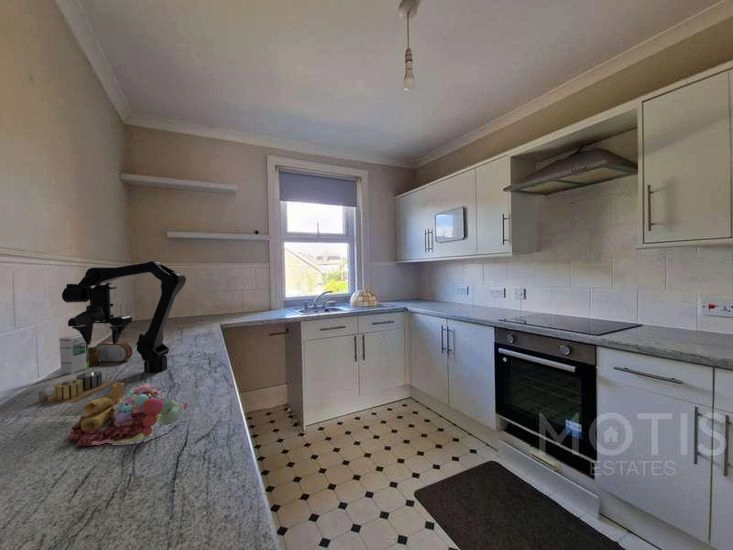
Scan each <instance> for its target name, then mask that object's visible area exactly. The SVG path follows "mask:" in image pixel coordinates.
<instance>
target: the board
mask: <svg viewBox="0 0 733 550" xmlns="http://www.w3.org/2000/svg"><path fill="white" fill-rule="evenodd" d="M70 380H71V381H69V380H66V382H64V381H63V382H64V384H65V385H69V384H73V381H72V380H73V379H70ZM115 383H118V381H102V385H101V386H100V387H97V388H94V389H90V390H83V395H81V396H79V397H76V398H73V399H69V400H62V401H58V400H57V401H56V400H55V398H54V394H52V395H50V396H48V390H47V389H44V390H40V391H38V400H37V401H35V402H33V404H34V405H36V404H60V403H61V404H63V403H64V404H65V403H66V404H67V403H79V402H80V401H82V400H84V399H87V398H88V397H90V396H92V395H95V394H96V393H99V392H100V391H103V390H104V389H107V388H109V387H112V385H113V384H115Z"/></svg>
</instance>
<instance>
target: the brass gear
mask: <svg viewBox="0 0 733 550" xmlns="http://www.w3.org/2000/svg"><path fill="white" fill-rule="evenodd" d="M71 380H72V381H73V384H69V385H65V384H64V382H66V381H67V380H66V381H65V380H64V381H61V382H59V383H55V385H53V389H54V390H53V395H54V398H55V400H56V401H57V400H58V401H62V400H69V399H73V398H76V397H79V396H81V395H83V380H80V379H69V380H68V381H71Z"/></svg>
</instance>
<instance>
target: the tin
mask: <svg viewBox="0 0 733 550" xmlns="http://www.w3.org/2000/svg"><path fill="white" fill-rule="evenodd" d="M96 347H97V352H98V354H99V361H101V362H104V363H106V362H107V363H123V362H125V361H128V360H129V359H131V358H132V356H133V348H132V346H131V345H130V344H129V343H128V342H125V341H117V343H116V344H113V341H111V340H110V341H109V340H108V341H107V340H106V341H104V342H101V343H99V344H98V345H97V346H96Z"/></svg>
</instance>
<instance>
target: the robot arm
mask: <svg viewBox="0 0 733 550" xmlns="http://www.w3.org/2000/svg"><path fill="white" fill-rule="evenodd" d="M149 273H151V274H152V275H153V276H154V277H155V278H156V279H157V280H159V281H160V282H161V283H160V291H161V295H160V296H159V297H160V298H159V301H158V303H157V306H156V308H155V311H154V313H153V316H152V319H151V321H150V324H149V327H148V329H147V331H145V332H142V333H140V334H139V335H138V340H137V342H136V343H135V346H136V351H137V352H138V354H139V355H140V356H141V357H140V358H141V359H142V361H144V362H143V372H144V373H148V374H157V373H163V372H165V371H166V370H168V356H167V355H169V351H170V348H169V347H168V346H167V345H166V344H165V343H164V334H163V333H164V328H165V326H166V323H167V320H168V317H169V315H170V312H171V310H172V307H173V304H174V301H175V298H176V297H177V295H178V294H179V293H180V291H181V290H182V289H183V287H184V285H185V284H186V282H187V277H186V276H185V275H184V273H183V272H180V271H176V270H174V269H172V268H170V267H168V266H167V265H164V264H162V263H161V262H159V261H147V262H143V263H137V264H129V265H124V266H118V267H90V268H88V269H87V270H86V272H85V275H84V276H83V277H82V279H81V280H80V281H79V282H78V283H66V286H65V288H64V289H63V291H62V293H61V298H62V301H64V302H65V303H68V304H69V303H87V302H89V305H86V308H85V310H84V311H82V312H81V313H79V314H77V315H76V316H74V317H70V318H69V320H68V321H67V326H68V327H71V328H72V329H74V330H77V332H79V334H81V335H82V337H83V338H84V340H85V342H86V344H87V345H88V346H90V345H91V344H92V343H91V342H92V339H93V338H92V337H93V331H94V330H93V329H94V328H93V327H94V324H110V325H111V326H109V329H110V330H111V333H112V334H111V337H112V341H111V342H113V344H116V343H117V342H119V341H118V340H119V339H120V337H121V335H122V333H123V331H124V330H125V329H126V326H129V324H132V323H133V317H132V316H131V315H118V316H114V313H113V314H112V313H111V308H112V307H114V303H111V290H117V288H118V287H117V286H116V285H114V284H113V283H112V282H114V281H116V280H118V279H121V278H125V277H130V276H131V277H132V276H136V275H142V274H143V275H144V274H149Z"/></svg>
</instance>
